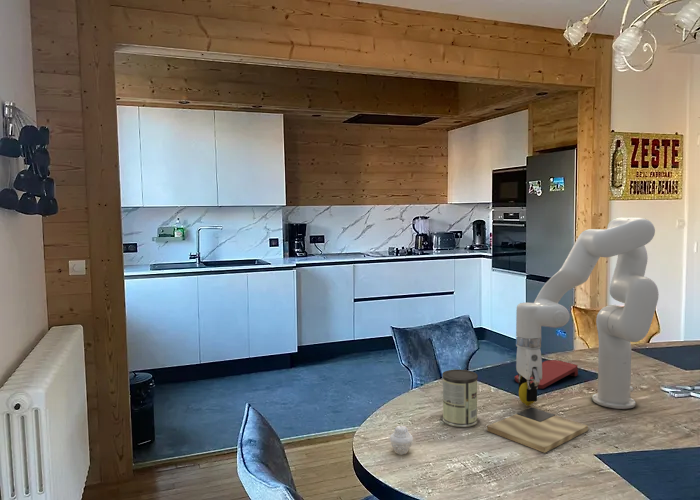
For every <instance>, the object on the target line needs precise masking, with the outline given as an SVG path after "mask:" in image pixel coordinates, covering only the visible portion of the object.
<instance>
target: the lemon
mask: <svg viewBox="0 0 700 500" xmlns="http://www.w3.org/2000/svg"><path fill="white" fill-rule="evenodd" d="M530 384H531V383H530ZM527 389H528V385H527V382H525V383H523V384H522V385H521V386H520V388H519V387H518V399H519V400H520V402H521V403H522V404H524V405H525V406H526V407H530V405H533V404H534V403H535V402H536V401H531V402H528V401H527Z"/></svg>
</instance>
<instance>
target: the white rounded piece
mask: <svg viewBox="0 0 700 500" xmlns="http://www.w3.org/2000/svg"><path fill="white" fill-rule="evenodd" d="M413 442H414V437H413V435H412V434H411V433H410V432H409V428H408V427H407V426H405V425H397V426H395V428H394V430H393V432H392V433H391V434H390V435H389V443H390V445H391V447H392V450H393V451H394V452H395V454H397V455H406V454H408V452H409V450H410V448H411V447H412V445H413Z"/></svg>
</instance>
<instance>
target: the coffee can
mask: <svg viewBox="0 0 700 500" xmlns="http://www.w3.org/2000/svg"><path fill="white" fill-rule="evenodd" d="M441 376H442V421H443V422H444V423H445V424H446V425H449V426H451V427H456V428H470V427H473V426H475V425H477V423H478V378H479V375H478V373H476V372H474V371H471V370H467V369H448V370H445V371H443V372H442V375H441Z"/></svg>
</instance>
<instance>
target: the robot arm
mask: <svg viewBox="0 0 700 500" xmlns="http://www.w3.org/2000/svg"><path fill="white" fill-rule="evenodd" d="M655 234H656V228H655V225H654V224H653V223H652V222H651V221H650V220H649V219H647V218H644V217H631V216H630V217H629V216H622V217H621V216H620V217H616V218H613V219H612V220H610V221H609V222H608V224H607V226H606V228H605V229H600V228H589V229H585V230H583V231H581V233H580V234H579V235H578V237H577V239H576V241H574V244H573V245H572V248H571V250H570V251H569V253H568V255H567V257H566V259H565V260H564V261H563V264H562V265H561V267H560V268H559V270H558V271H557V272H555V274H553V275H552V276H551V277H550V278H549V279H548V280H547V281H546V282H545V283H544V285H543V286H542V287H541V289H540V290H539V292H538V294H537V296H536V298H535V299H534V301H533V302H520V303H518V304H517V305H516V311H515V313H516V314H515V315H516V316H515V318H516V319H515V320H516V321H515V322H516V323H515V326H516V327H515V347H517V348H516V357H515V358H516V359H515V368H516V369H515V370H516V372H517V375H518V376H519V378H518V381H519V383H518V389H519V388H520V386H521V385H522V384H523V383H525V382H527V385H528V389H527V401H528V402H531V401H535V402H537V401H538V389H539V388H538V385H539V383H540V380H541V379H542V362H543V360H542V358H543V357H542V352H541V348H542V327H547V328H555V329H557V328H562V327H564V326H566V325H567V324H568V323H569V321H570V318H571V315H570V312H569V310H568V309H567V307H566V306H564V305H562V304H560V303H559V302H560V301H561V300H562V298H563V297H564V295H565V294H567V292H569V291H571V290H572V289H574V288H577V287H579V286H581V285H583V284H584V283H586V282H587V281H588V280H589V278H590V276H591V274H592V272H593V270H594V269H595V267H596V265H597V263H598V262H599V260H600V258H611V257H615V256H617V258H616V263H615V268H614V271H613V275H612V277H611V281H610V284H609V295H610V297H611V298H612V299H613V300H615V301H616V302H619V303H621V304H624V305H623V306H620V305H615V304H610V305H606V306H603V307H602V308H601V309H600V310H598V312H597V315H596V321H595V323H596V331H597V336H598V337H597V338H598V354H597V355H598V356H597V358H598V359H597V361H598V363H597V393H594V394H592V396H591V400H592V401H593V403H595V404H597V405H598V406H602V407H605V408H609V409H615V410H617V409H618V410H628V409H632V408H635V407H636V403H637V402H636V400H635V399H634V398H632V397H631V393H632V392H634V391H635V390H634V387H633V386H632V383H631V382H632V381H631V380H632V350H633V349H632V343H637V342H640V341H642V340H644V338H646V336H647V335H648V333H649V331H650V329H651V325H652V323H653V318H654V316H655V311H656V308H657V305H658V301H659V296H660V295H659V289H658V285H657V284H656V282H655V280H654V281H653V279H651V278H649V277H647V276H645V274H646V270H647V265H648V260H649V259H648V258H649V257H648V251H647V248H646V245H648V244H649V243H650V242H651V241H653V239H654V237H655ZM530 377H533V378H534V379H530ZM530 381H533V382H532V383H531V384H530Z"/></svg>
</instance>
